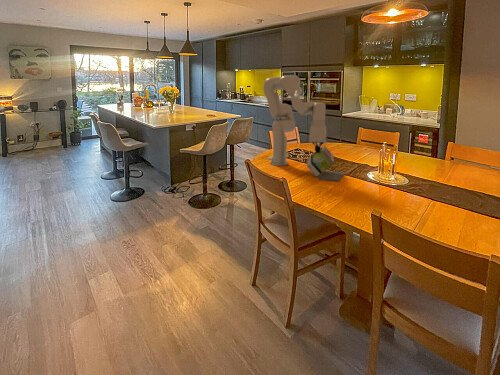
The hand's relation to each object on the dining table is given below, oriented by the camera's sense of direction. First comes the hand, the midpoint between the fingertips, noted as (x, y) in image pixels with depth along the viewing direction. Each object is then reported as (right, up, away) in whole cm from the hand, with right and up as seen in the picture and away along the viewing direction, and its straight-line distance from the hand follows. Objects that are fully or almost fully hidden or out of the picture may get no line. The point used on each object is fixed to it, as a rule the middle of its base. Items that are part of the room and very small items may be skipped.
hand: (317, 152), depth 217 cm
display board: (+9, -15, +1) cm, 18 cm away
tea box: (-3, -10, +5) cm, 11 cm away
